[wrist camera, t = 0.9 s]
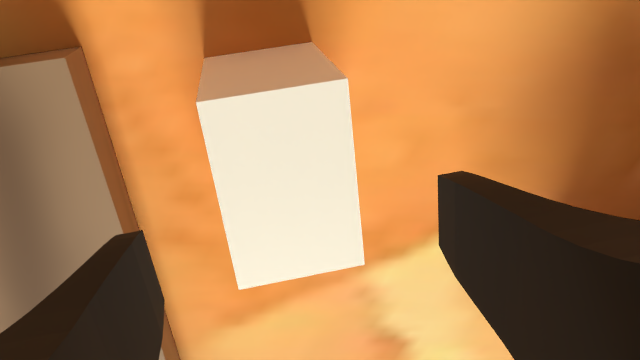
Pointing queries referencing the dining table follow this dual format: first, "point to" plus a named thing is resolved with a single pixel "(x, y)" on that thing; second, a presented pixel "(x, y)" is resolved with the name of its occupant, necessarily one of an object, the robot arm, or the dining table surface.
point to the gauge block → (282, 162)
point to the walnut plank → (55, 180)
